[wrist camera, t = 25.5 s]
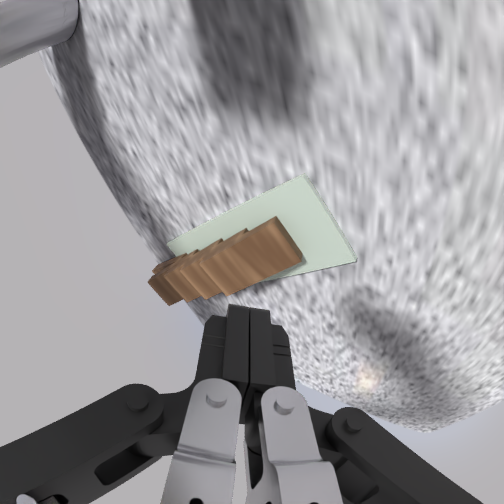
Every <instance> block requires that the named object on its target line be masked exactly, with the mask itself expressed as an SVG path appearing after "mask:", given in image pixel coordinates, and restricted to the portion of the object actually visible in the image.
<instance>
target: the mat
mask: <svg viewBox="0 0 504 504" xmlns="http://www.w3.org/2000/svg"><path fill="white" fill-rule="evenodd" d="M275 216H277V217H278V219H279V220H280V222H281V223H282V224H283V226H284V227H285V229H286V230H287V232H288V233H289V234H290V236H291V237H292V239H293V240H294V242H295V243H296V245H297V246H298V247H299V249H300V250H301V252H302V253H303V254H302V262H300V263H298V264H296V265H294V266H291V267H289V268H287V269H285V270H283V271H281V272H279V273H277V274H274V275H272V276H270V277H268V278H266V279H264V280H261V281H259V282H263V281H268V280H273V279H278V278H283V277H287V276H292V275H297V274H301V273H306V272H311V271H315V270H320V269H324V268H329V267H333V266H338V265H342V264H347V263H351V262H356V260H357V256H356V254H355V253H354V251H353V249H352V248H351V246H350V244H349V242H348V241H347V239H346V237H345V236H344V234H343V232H342V231H341V229H340V227H339V226H338V224H337V222H336V221H335V219H334V217H333V216H332V214H331V213H330V211H329V209H328V208H327V206H326V205H325V203H324V201H323V200H322V198H321V197H320V195H319V194H318V192H317V190H316V189H315V187H314V186H313V184H312V183H311V181H310V180H309V178H308V177H307V175H306V174H305V173H304V174H302V175H300V176H298V177H296V178H294V179H292V180H289V181H287V182H285V183H283V184H281V185H279V186H277V187H275V188H273V189H271V190H269V191H267V192H265V193H263V194H260V195H258V196H256V197H254V198H252V199H250V200H248V201H246V202H244V203H242V204H240V205H238V206H236V207H234V208H232V209H230V210H228V211H227V212H225V213H223V214H221V215H219V216H217V217H215V218H213V219H211V220H209V221H207V222H205V223H203V224H201V225H199V226H198V227H196V228H194V229H192V230H190V231H188V232H186V233H184V234H182V235H181V236H179V237H177V238H175V239H173V240H171V241H169V242H168V243H167V244H166V245H167V246H168V247H169V249H170V250H171V251H172V252H173V253H174V254H175V256H176V257H177V256H180V255H182V254H184V253H187V254H189V253H191V252H193V251H194V250H196V249H198V250H199V251H200V250H202V249H204V248H205V247H207V246H209V245H210V244H212V243H214V242H215V241H217V240H219V239H220V238H222V239H223V241H224V240H226V239H228V238H230V237H231V236H233V235H235V234H236V233H238V232H240V231H242V230H243V229H245V228H247V229H248V231H250V230H252V229H254V228H255V227H257V226H259V225H261V224H262V223H264V222H266V221H268V220H269V219H271V218H273V217H275ZM257 283H258V282H257Z"/></svg>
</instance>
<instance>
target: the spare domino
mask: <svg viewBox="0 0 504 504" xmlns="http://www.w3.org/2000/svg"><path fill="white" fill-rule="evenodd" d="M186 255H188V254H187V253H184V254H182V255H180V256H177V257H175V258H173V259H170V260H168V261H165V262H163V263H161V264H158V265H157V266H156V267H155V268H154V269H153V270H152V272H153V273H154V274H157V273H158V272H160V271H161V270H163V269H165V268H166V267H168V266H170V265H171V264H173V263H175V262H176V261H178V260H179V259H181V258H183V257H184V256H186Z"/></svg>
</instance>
